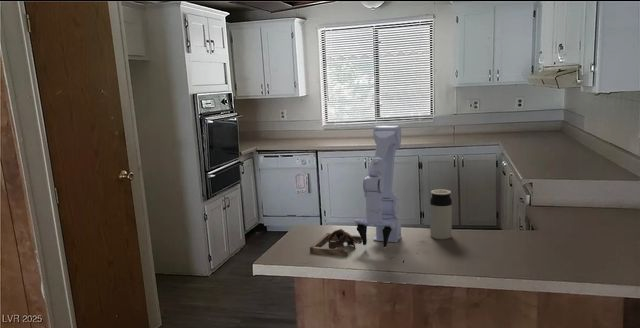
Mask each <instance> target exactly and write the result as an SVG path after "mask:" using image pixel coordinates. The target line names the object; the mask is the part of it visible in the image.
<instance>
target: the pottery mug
mask: <svg viewBox="0 0 640 328" xmlns="http://www.w3.org/2000/svg"><path fill="white" fill-rule="evenodd" d="M330 233H331V234H330V235H329V237H328V239H329V240H328V241H327V242H328V245H327V246H328V248H332V249H339V248H340V247H342V248H344V247H345V243H346V246H352V247H353V250H356V244H355V241H354V240H353V238H352V236H351V235H352V234H350V233H349V232H347V231H345V230H344V229H342V228H339V229H336V230H334V231H333V232H330ZM335 235H336V237H337V238H338V240H335V241H332V240H333V239H332V238H333V237H334V236H335Z"/></svg>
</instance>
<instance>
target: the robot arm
mask: <svg viewBox="0 0 640 328" xmlns="http://www.w3.org/2000/svg"><path fill="white" fill-rule="evenodd" d="M372 133H373V140H374V143H375V145H376V146H375V154H374V158H373V159H371V160H370V163H369V167H368V170H367V171H368V172H367V174H366V175H367V176H366V177H364V179H363V182H362V189H363V193H364V198H365V212H366V213H365V217H366V218H356V219H355V220H354V226H356V230H357V232H358V235H359V236H361V239H362V241H361V242H362V244H363V245H362V246H366V245H367V243H368V242H367V241H368V239H367V232H368V231H367V228H368V227H375V235H374V237H373V239H372V241H376V242H378V241H379V242H382V243H383V246H382V247H383V248H387V246H388V242H389V243H398V242H399V240H400V239H401V238H402V219H401V218H400V217H399V216H398V217H397V215H399V209H400V206H399V205H400V204H399V200H400V199H399V197H398V195H396V193H394V192H393V183H394V182H393V181H394V172H395V171H394V170H395V169H394V168H395V157H396V153H397V152H396V151H397V150H398V149H400V148H401V143H402V129H401V127H400V125H375V127H374V128H373V131H372Z"/></svg>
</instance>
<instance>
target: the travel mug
mask: <svg viewBox="0 0 640 328" xmlns="http://www.w3.org/2000/svg"><path fill="white" fill-rule="evenodd" d="M451 193H452V191H451V190H448V189H444V188H443V189H442V188H441V189H440V188H439V189H433V190H431V191H430V194H431V197H430V200H429V201H430V202H429V205H430V206H429V207H430V208H429V210H430V211H429V212H430V213H429V214H430V215H429V216H430V217H429V218H430V219H429V220H430V223H429V225H430V228H429V229H430V231H429V232H430V234H429V235H430V237H432V238H433V239H436V240H448V239H450V238H452V236H453V235H452V230H453V229H452V228H453V227H452V221H453V219H452V218H453V217H452V214H453V213H452V212H453V211H452V208H453V207H452V200H453V199H452V198H451Z"/></svg>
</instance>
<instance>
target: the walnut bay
mask: <svg viewBox="0 0 640 328" xmlns="http://www.w3.org/2000/svg"><path fill="white" fill-rule="evenodd" d="M331 233H332V232H327V233H326V234H324V235H323V236H322V237H321V238H319V239H318V240H317V241H315V242H314V243H313V244H312V245H311V246H310V247H309V253H311V254H319V255H327V256H337V257H348V256H349V255H348V253H349V252H348V249H339V248H335V249H332V248H329V247H322V246H323V245H324V244H326V243H327V242H328V240H329V239H328V237H329V235H330V234H331ZM350 235H351V236H352V238H353V240H354V242H357V243H361V242H362V239H361V236H360V235H354V234H350ZM331 240H335V241H337V240H338V238H337V237H336V235H335V236H334V237H333V238H332V239H331Z"/></svg>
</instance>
